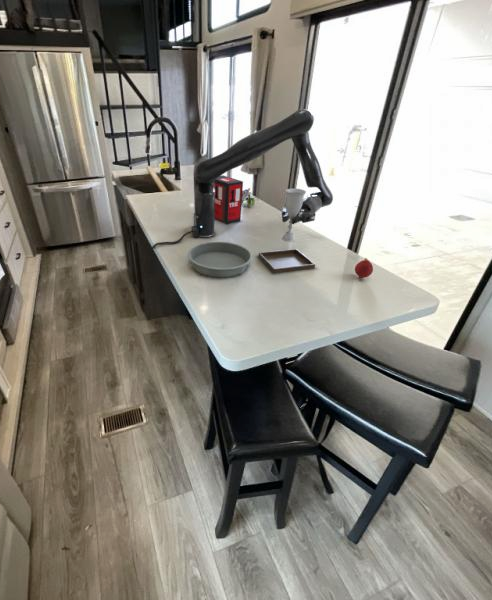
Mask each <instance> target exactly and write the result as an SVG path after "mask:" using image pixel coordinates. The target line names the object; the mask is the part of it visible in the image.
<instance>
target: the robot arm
mask: <svg viewBox="0 0 492 600" xmlns="http://www.w3.org/2000/svg"><path fill="white" fill-rule="evenodd" d="M314 117H315V116H314V114H313V112H312V111H310V110H309V109H305V108H300V109H297V110H295V111H294V112H293V113H291V114H289V115H288V116H287V117H285V118H283V119H282V120H280V121H278V122H277V123H274V124H273V125H269V126H267V127H264V128H262V129H259V130H257V131H255V132H253V133H251V134H249V135H247V136H245V137H243V138H241V139H239V140H238V141H236V142H234V144H232V145H231V146H230V147H229V148H228V149H226V150H225V151H223V152H222V153H220V154H217V155H215V156H213V157H211V158H208V157H205V156H204V157H203V156H202V157H199V158H198V159H197V160H196V161H195V163H194V165H193V193H194V194H193V197H194V198H193V199H194V200H193V201H194V212H193V213H192V214H193V217H192V218H193V225H191V226H190V230H189V231H187V232H185V233H184V234H182V236H181V237H180V238H178V239H177V240H175V241H161V242H156V243H155V244H153V246H152V247H151V250H154V249H155V248H156V247H157V246H159V245H175V244H178V243H180V242H181V241H182V240H183V239H184V238H185V237H186V236H187V235H190V234H191V233H192V235H193V237H195V238H203V239H205V238H213V237H214V236H215V220H216V219H215V179H216V178H218V177H219V176H222V175H224V174H226V173H228V172H229V171H231V170H233V169H236V168H238V167H241V166H243V165H245V164H247V163H249V162H252V161H254V160H255V159H257V158H259V157H262V156H263V155H265V154H267V153H268V152H270V151H272V150H273V149H274V148H277V146H279V145H280V144H282V143H284V142H286V141H289V140H291V141H292V144H293V146H294V149H295V151H296V152H297V156H298V159H299V162H300V166H301V169H302V173H303V176H304V180H305V184H306V186H307V188H310V189H311V188H317V189H318V191H316V192H311V193H309V194H308V195H307V196H306V197H305V198H303V203H302V207H301V209H300V211H299V212H298V214H297V215H296V216H295V217H293V218H292V225H295V224H297V223H300V222H301V223H302V224H304V223H305V224H306V223H310V222H314V221H315V219H316V215H317V214H316V213H317V212H319V211H320V209H321V208H325V207H328V206H330V205H331V204H332V203H333V201H334V195H333V192H332V191H331V189H330V187H328V185H327V182H326V180H325V179H324V175H323V171H322V168H321V164H320V161H319V159H318V157H317V155H316V153H315V151H314V149H313V147H312V144H311V139H310V135H309V132H310V130H311V129H312V127H313V125H314V121H315V118H314ZM281 218H282V223H286V222H289V221H290V217H289V216H288V213H287V210H286V206H284V207H283V206H282V210H281Z"/></svg>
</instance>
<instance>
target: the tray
mask: <svg viewBox="0 0 492 600" xmlns="http://www.w3.org/2000/svg"><path fill="white" fill-rule="evenodd" d="M257 257H258V258H259V259H260V260H261V261H262V263H263V264H265V266H266V267H267V268H268V269H270V271H271V272H272V273H273V274H281V273H288V272H297V271H298V272H299V271H305V270H311V269H312V270H313V269H316V263H315V262H314V261H312V260H311V259H310V258H309V257H308V256H306V255H305V254H303V252H302V251H300V250H299V249H297V248H291V249H281V250H271V251H270V250H269V251H261V252H258V256H257Z"/></svg>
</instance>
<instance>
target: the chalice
mask: <svg viewBox="0 0 492 600" xmlns="http://www.w3.org/2000/svg"><path fill="white" fill-rule="evenodd" d="M285 191H286V196H285V197H286V199H285V208H286V210H287V213H288V216H289V217H290V219H289V220H288V224H289V225H288V226H287V228H288V230H287V231H286V232H284V234H283V235H282V237H281V240H282V241H283V242H287V243H292V242H295V241H296V239H295V235H294V233H293V232H292V229H293V224H292V218H293V217H295V216H296V215H297V214H298V212H299V211H300V209H301V207H302V203H303V199H305V198H304V197H305V195H306V193H307V191H306V190H304V189H301V188H294V187H293V188H287V189H285Z"/></svg>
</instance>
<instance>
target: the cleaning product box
mask: <svg viewBox="0 0 492 600" xmlns="http://www.w3.org/2000/svg"><path fill="white" fill-rule="evenodd" d="M243 187H244V181H243V180H239V179H236V178H233V177H230V176H227V175H224V174H222V175H221V176H219V177H218V178H216V179H215V220H217V221H219V222H221V223H223V224H226V225H229V224H235V223H239V222H241V217H242V205H243V203H242V191H244V189H243Z"/></svg>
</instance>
